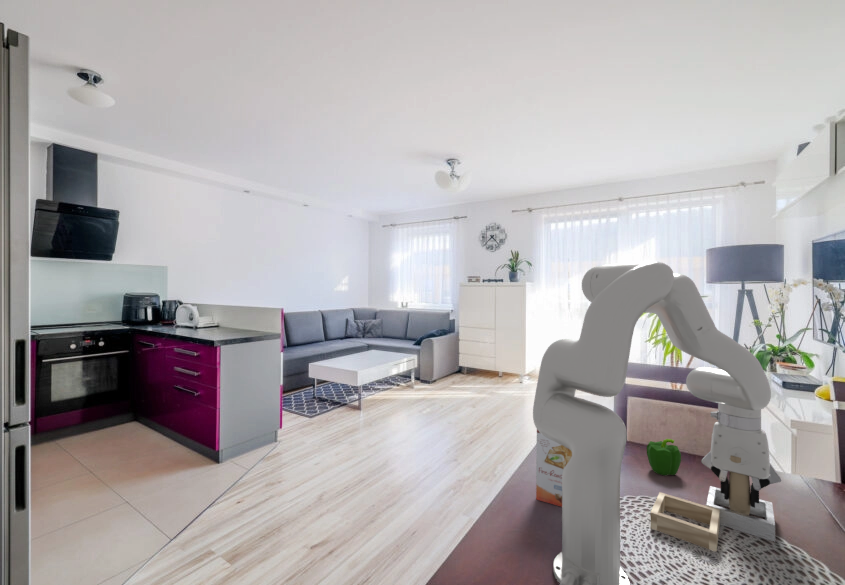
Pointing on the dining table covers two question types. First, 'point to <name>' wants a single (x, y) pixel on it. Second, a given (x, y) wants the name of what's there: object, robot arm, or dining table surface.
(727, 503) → the socket block
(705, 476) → the dining table surface
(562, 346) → the robot arm
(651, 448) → the bell pepper
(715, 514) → the frame
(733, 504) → the handle
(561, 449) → the cracker box
